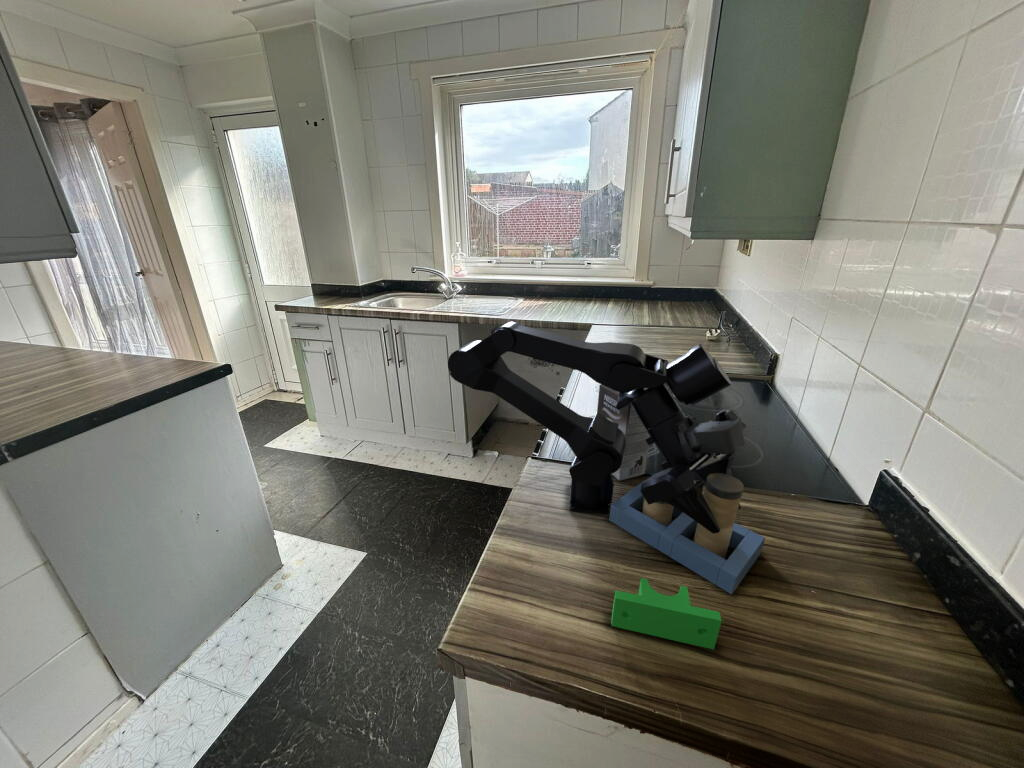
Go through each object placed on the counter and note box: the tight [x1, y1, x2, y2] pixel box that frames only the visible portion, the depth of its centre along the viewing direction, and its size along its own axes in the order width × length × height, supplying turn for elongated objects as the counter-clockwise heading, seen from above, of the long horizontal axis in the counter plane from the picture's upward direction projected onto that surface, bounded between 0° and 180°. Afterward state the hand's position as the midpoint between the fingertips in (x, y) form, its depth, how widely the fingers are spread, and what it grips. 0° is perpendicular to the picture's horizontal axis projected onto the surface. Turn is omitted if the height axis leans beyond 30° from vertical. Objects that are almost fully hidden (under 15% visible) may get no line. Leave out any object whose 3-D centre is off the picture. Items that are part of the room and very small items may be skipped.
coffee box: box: [596, 384, 650, 482], centre depth 76 cm, size 9×6×16 cm
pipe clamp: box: [610, 577, 723, 650], centre depth 47 cm, size 11×4×5 cm, turn 76°
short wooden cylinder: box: [641, 498, 674, 527], centre depth 63 cm, size 4×4×6 cm
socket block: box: [608, 479, 766, 595], centre depth 61 cm, size 19×10×3 cm, turn 42°
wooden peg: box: [692, 473, 745, 560], centre depth 56 cm, size 4×4×12 cm
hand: (727, 520), depth 55 cm, fingers open, 7 cm apart
